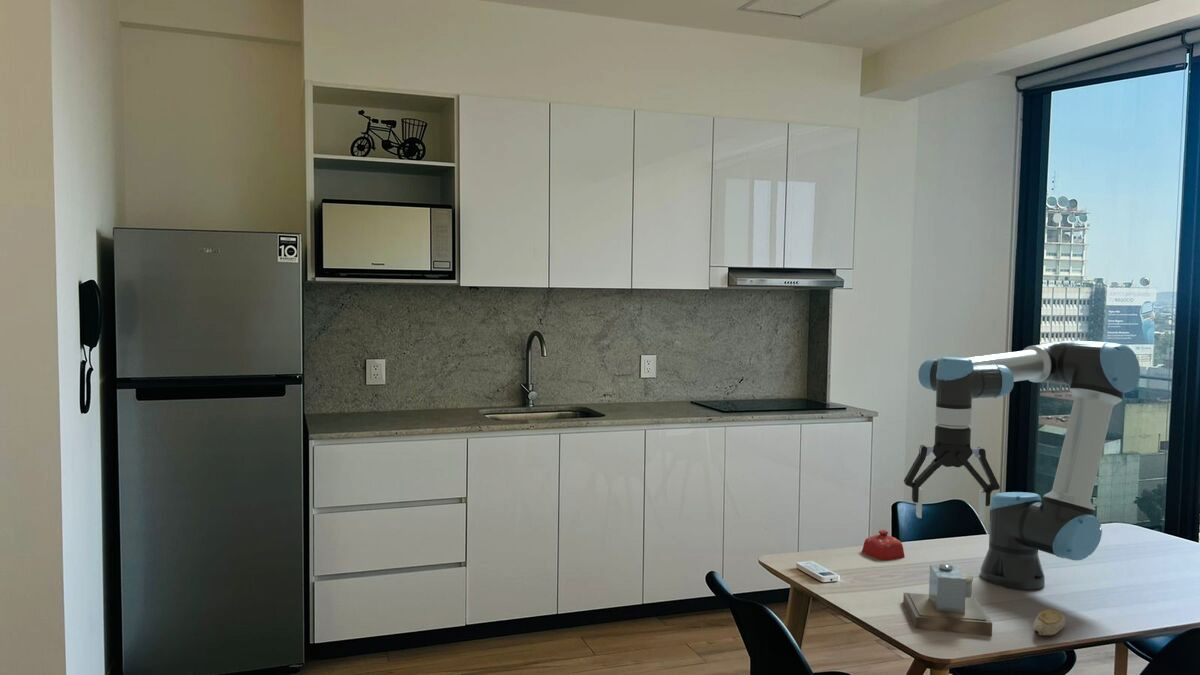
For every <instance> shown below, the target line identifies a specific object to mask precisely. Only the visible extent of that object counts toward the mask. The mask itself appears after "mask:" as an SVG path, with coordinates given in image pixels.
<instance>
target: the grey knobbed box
mask: <svg viewBox="0 0 1200 675" xmlns="http://www.w3.org/2000/svg"><path fill="white" fill-rule="evenodd" d="M961 572H962V571H961V570H960V569H959V567H958V566H953V565H952V564H948V563H940V564H939V565H938V564H937V565H936V564H930V565H929V581H928V582H929V586H928V587H929V588H928V594H929V600H930V601H931V603H932V605H933V607H934V608H935V610H936V612H941V613H954V614H965V599H966V578H965V577H964V575H963V574H962V573H963V572H962V573H961Z"/></svg>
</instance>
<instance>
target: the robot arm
mask: <svg viewBox="0 0 1200 675" xmlns="http://www.w3.org/2000/svg"><path fill="white" fill-rule="evenodd" d="M1140 369H1141V366H1140V362H1139V359H1138V357H1137V355H1136V353H1135V352H1134V351H1133V349H1132V348H1131V347H1129V346H1128V345H1125V344H1122V343H1116V342H1111V341H1091V340H1090V341H1087V340H1075V339H1071V340H1070V339H1068V340H1066V339H1065V340H1058V341H1053V342H1046V343H1040V344H1035V345H1028V346H1026V347H1024V348H1023V350H1018V351H1008V352H1003V353H994V354H985V355H977V356H969V357H958V356H952V357H951V356H943V357H941V358H936V359H926V360H925V361H923V362H922V363H921V364H920V366H919V368H918V381H919V384H920V385H921V386H922V387H923V388H925V389H928V390H932V391H934V392H936V393H935V395H936V396H935V398H936V399H935V400H936V401H935V419H934V420H935V423H936V424H937V425H936V426H934V427H935V428H934V443H933V444H934V445H933V446H926V445H924V444H921V445H920V446H919V449H918V450H919V451H918V455H917V456H916V458H915V459H914V462H913V463H912V465H911V466H910V469H909V470H908V472H907V474H906V476H905V477H904V479H903V483H904V484H905V485H906V486H907V487H910V488H911V501H912V502H913V503H915V504H916V505H915V516H916V517H917V518H918V519H922V517H923V516H922V513H923V489H922V488H921V486H922V485H924V484H925V482H926V481H927V480H928V479H929V478H930V477H931V476H932V475H933V474H934V473H935V472H936V471H937V470H938V469H939V468H941V466H943V467H945V468H949V467H955V468H960V467H963V466H964V468H965V469H966V470H967V471H968V473H969V474H970V475H971V476H972V478H973V479H975V481H976V482H977V484H979V486H980V487H981V488H982V489H979V491H978V516H977V517H978V519H979V520H980V522H985V521H986V507H989V506H990V508H989V525H988V526H989V529H988V531H989V532H988V534H989V536H988V539H989V540H988V550H987V552H986V554H985V557H984V560H983V562H982V564H981V567H980V577H981V578H982V580H984V581H986V582H987V583H989V584H991V585H994V586H997V587H1001V588H1005V589H1010V590H1017V591H1019V590H1020V591H1034V590H1039V589H1042V588H1044V587H1045V580H1046V578H1045V574H1044V570H1043V566H1042V564H1041V560H1040V557H1039V551H1041V552H1043V553H1046V554H1050V555H1053V556H1056V557H1057V558H1061V559H1066V560H1071V561H1082V560H1085V559H1087V558H1088V557H1089V556H1091V555H1092V554H1094V552H1095V551H1096V550H1097V548H1098V547H1099V545H1100V542H1101V538H1102V537H1103V536H1102V534H1103V529H1102V524H1101V521H1100V520H1099V519H1098V518H1097V517H1096V516H1095V514H1096V508H1095V506H1094V505H1093V503H1092V501H1091V500H1092V495H1093V491H1094V489H1095V488H1094V487H1095V483H1096V479H1097V474H1098V472H1099V471H1098V470H1099V467H1100V463H1101V458H1102V454H1103V450H1104V446H1105V442H1106V438H1107V433H1108V429H1109V425H1110V423H1111V422H1110V421H1111V416H1112V413H1113V408H1114V406H1116V405H1117V404H1119V403H1121V402H1123V398H1124V395H1125V394H1127V393H1129V392H1132V391H1133V390H1134V389H1135V388H1136V387H1137V386H1138V384H1139V381H1140V376H1141V370H1140ZM1021 381H1029V382H1032V383H1042V382H1043V383H1053V384H1060V385H1067V386H1069V392H1070V393H1071V395H1072V396H1073V398H1074V399H1073V403H1072V408H1071V411H1070V415H1069V420H1068V423H1067V428H1066V431H1065V436H1064V439H1063V443H1062V447H1061V448H1062V449H1061V452H1060V456H1059V460H1058V464H1057V468H1056V472H1055V476H1054V481H1053V485H1052V489H1051V490H1050V491H1049V492H1047V493H1045V494H1044V495H1043V496H1042V498H1041V495H1040V494H1038V493H1034V492H1026V491H1025V492H1023V491H1011V492H1010V491H1007V492H1006V491H1005V492H997V493H995V494H994V495H993V496H992V497H991V494H992V492H993V491H998V490H1000V484H999V482H998V480H997V478H996V476H995V474H994V472H993V470H992V468H991V466H990V463H989V462H988V460H987V454H986V450H985V448H983V447H982V446H978V447H975V448H972V446H971V438H972V436H971V434H972V433H971V432H972V428H971V427H969V426H971V425H972V404H973V399H987V398H994V399H996V398H1000V397H1005V396H1008V394H1010V393H1011V392H1012V390H1013V388H1014V383H1015V382H1021ZM1124 393H1125V394H1124ZM931 453H933V455H934V456H935V458H934V459H933V460H932V461H931V462H930V463H929V465H928V466H926V468H925V469H923V471H922V472H921V473H920V474H919V475H918V472H919V471H920V470H921V467H922V466H923V464H924V463H925V460H926V458H927V457H929V456H930V454H931ZM972 455H974V456H975V458H977V459H978V461H979V464H980V465H981V467H982V470H983V471H984V473H985V476H986V478H987V479H988V480H987V481H989V483H987V482H986V481H985V479H983V477H982V476H981V475H980V474H979V473H978V471H977V470H976V468H974V467H973V465H972V464H971V463H970V461H969V459H970V457H971V456H972ZM917 475H918V476H917Z"/></svg>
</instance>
